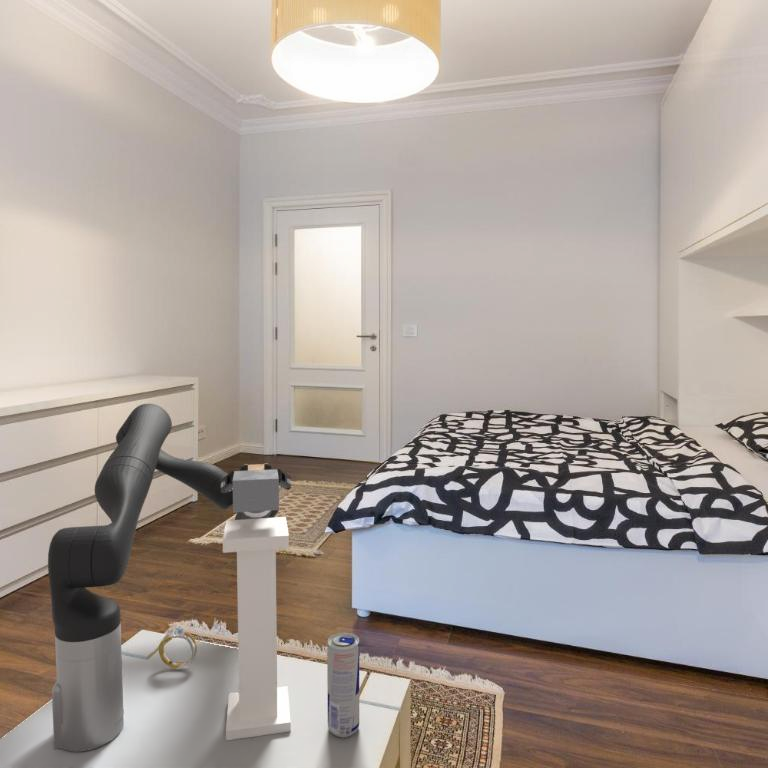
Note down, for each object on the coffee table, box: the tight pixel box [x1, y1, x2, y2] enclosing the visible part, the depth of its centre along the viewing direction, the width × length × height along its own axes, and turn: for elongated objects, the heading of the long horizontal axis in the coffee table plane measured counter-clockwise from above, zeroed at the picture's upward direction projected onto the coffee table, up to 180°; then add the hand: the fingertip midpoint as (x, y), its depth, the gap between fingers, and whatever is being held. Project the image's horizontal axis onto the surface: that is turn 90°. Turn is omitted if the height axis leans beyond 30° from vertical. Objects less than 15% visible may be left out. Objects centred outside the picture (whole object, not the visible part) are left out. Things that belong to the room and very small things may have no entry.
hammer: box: [232, 463, 280, 514], centre depth 98 cm, size 7×18×5 cm, turn 12°
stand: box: [222, 516, 292, 741], centre depth 94 cm, size 10×10×32 cm
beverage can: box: [326, 632, 360, 738], centre depth 91 cm, size 5×5×15 cm
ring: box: [158, 626, 198, 670], centre depth 109 cm, size 7×3×8 cm, turn 83°
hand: (255, 469), depth 101 cm, fingers closed on hammer, 3 cm apart
